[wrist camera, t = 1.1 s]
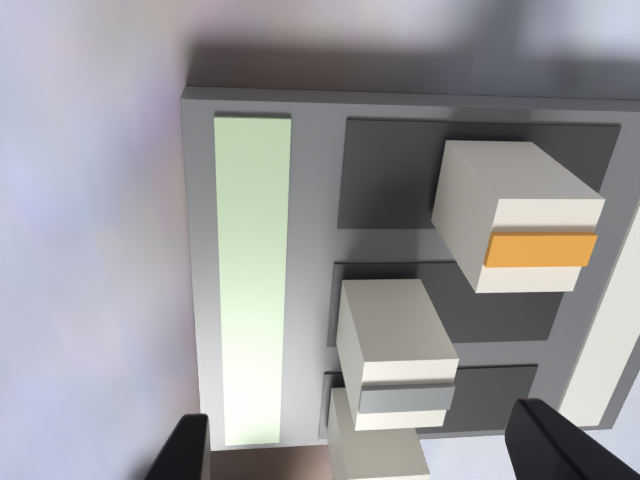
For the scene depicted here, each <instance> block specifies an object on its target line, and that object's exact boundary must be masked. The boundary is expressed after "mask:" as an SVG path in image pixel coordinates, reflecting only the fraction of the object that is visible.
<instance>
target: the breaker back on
mask: <svg viewBox="0 0 640 480" xmlns="http://www.w3.org/2000/svg"><path fill="white" fill-rule="evenodd" d="M327 442H328V449H329V455H330V461H331V468H332V474H333V480H429V478H430V472H429V469H428V466H427V463H426V460H425V457H424V454H423V451H422V448H421V445H420V442H419V439H418V436H417V433H416V430H415V428H397V429H378V430H359V431H355V428H354V424H353V419H352V414H351V410H350V405H349V400H348V396H347V391H346V388H332V389H331V399H330V409H329V419H328V429H327Z"/></svg>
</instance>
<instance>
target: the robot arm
mask: <svg viewBox="0 0 640 480" xmlns="http://www.w3.org/2000/svg"><path fill="white" fill-rule="evenodd" d="M505 442H506V446H507V449H508V453H509V456H510V459H511V463H512V466H513V469H514V472H515V476H516V479H517V480H640V474H638V473H637V472H636V471H634V470H633V469H632V468H631V467H629V466H628V465H627V464H625V463H624V462H623V461H621V460H620V459H619V458H617V457H616V456H615V455H614V454H612V453H611V452H610V451H608V450H607V449H606V448H604V447H603V446H602V445H601V444H599V443H598V442H597V441H595V440H594V439H593V438H591V437H590V436H589V435H587V434H586V433H585V432H584V431H582V430H581V429H580V428H578V427H577V426H576V425H574V424H573V423H572V422H570V421H569V420H568V419H567V418H565V417H564V416H563V415H561V414H560V413H559V412H557V411H556V410H555V409H554V408H552V407H551V406H550V405H548V404H547V403H546V402H544V401H543V400H541V399H539V398H519V399H517V400H516V401H515V402H514V404H513V407H512V410H511V413H510V416H509V419H508V422H507V425H506V428H505ZM210 466H211V444H210V427H209V417H208V415H207V414H205V413H200V414H186V415H184V416H182V418H181V419H180V420H179V422H178V424H177V425H176V427H175V428H174V430H173V432H172V433H171V435H170V436H169V438H168V440H167V441H166V443H165V444H164V446H163V447H162V449H161V451H160V452H159V454H158V455H157V457H156V459H155V460H154V462H153V463H152V465H151V467H150V468H149V470H148V471H147V473H146V475H145V476H144V478H143V479H142V480H210Z"/></svg>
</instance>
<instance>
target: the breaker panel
mask: <svg viewBox="0 0 640 480" xmlns="http://www.w3.org/2000/svg"><path fill="white" fill-rule="evenodd" d="M180 101H181V116H182V132H183V147H184V162H185V178H186V193H187V208H188V224H189V239H190V254H191V270H192V285H193V300H194V316H195V331H196V346H197V362H198V377H199V392H200V408H201V413H205V414H207V415H208V417H209V427H210V444H211V451H219V450H237V449H256V448H274V447H292V446H310V445H328V442H327V429H328V419H329V409H330V399H331V389H332V388H346V386H345V382H344V377H343V372H342V368H341V363H340V358H339V354H338V349H337V344H336V338H337V328H338V318H339V308H340V298H341V288H342V280H384V279H421V281H422V283H423V285H424V287H425V289H426V292H427V294H428V296H429V298H430V300H431V302H432V304H433V306H434V308H435V310H436V312H437V314H438V316H439V318H440V320H441V322H442V324H443V327H444V329H445V331H446V333H447V335H448V337H449V339H450V341H451V343H452V345H453V347H454V349H455V351H456V353H457V355H458V357H459V362H458V366H457V370H456V374H455V378H454V382H453V383H454V385H455V391H454V395H453V399H452V402H451V406H450V410H446V414H445V418H444V422H443V426H436V427H417V428H415V430H416V433H417V436H418V439H438V438H456V437H474V436H492V435H505V428H506V425H507V422H508V419H509V416H510V413H511V410H512V407H513V404H514V402H515V401H516V400H517V399H519V398H539V399H541V400H543V401H544V402H546V403H547V404H548V405H550V406H551V407H552V408H554V409H555V410H556V411H557V412H559V413H560V414H561V415H563V416H564V417H565V418H567V419H568V420H569V421H570V422H572V423H573V424H574V425H576V426H577V427H578V428H580V429H581V430H582V431H583V430H602V429H612V427H613V425H614V423H615V421H616V419H617V417H618V415H619V412H620V410H621V408H622V406H623V404H624V402H625V400H626V398H627V396H628V393H629V391H630V389H631V387H632V385H633V383H634V381H635V379H636V377H637V374H638V372H639V370H640V101H639V100H607V99H575V98H543V97H512V96H480V95H448V94H416V93H384V92H353V91H321V90H289V89H257V88H225V87H194V86H185V88H184V90H183V93H182V96H181V99H180ZM446 140H459V141H509V142H533V143H534V144H535V145H536V146H538V147H539V148H540V149H542V150H543V151H544V152H545V153H547V154H548V155H549V156H551V157H552V158H553V159H554V160H556V161H557V162H558V163H560V164H561V165H562V166H563V167H565V168H566V169H567V170H568V171H570V172H571V173H572V174H574V175H575V176H576V177H577V178H579V179H580V180H581V181H583V182H584V183H585V184H586V185H588V186H589V187H590V188H592V189H593V190H594V191H595V192H597V193H598V194H599V195H601V196H602V197H603V198H604V199H606V200H605V202H604V205H603V208H602V211H601V214H600V216H599V219H598V222H597V225H596V228H595V230H594V233H596V234H597V235H598V237H597V240H596V242H595V245H594V248H593V251H592V253H591V256H590V259H589V262H588V264H587V266H582V267H581V270H580V272H579V275H578V278H577V281H576V284H575V286H574V289H573V291H559V292H505V293H475V291H474V290H473V288H472V286H471V285H470V283H469V281H468V280H467V278H466V277H465V275H464V273H463V272H462V270H461V268H460V267H459V265H458V264H457V262H456V260H455V259H454V257H453V255H452V254H451V252H450V251H449V249H448V247H447V246H446V244H445V242H444V241H443V239H442V238H441V236H440V234H439V233H438V231H437V229H436V228H435V226H434V225H433V223H432V221H431V219H432V213H433V208H434V203H435V197H436V192H437V186H438V181H439V176H440V170H441V165H442V159H443V154H444V149H445V143H446Z"/></svg>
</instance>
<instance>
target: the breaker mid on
mask: <svg viewBox="0 0 640 480" xmlns="http://www.w3.org/2000/svg"><path fill="white" fill-rule="evenodd" d="M336 344H337V349H338V354H339V358H340V363H341V368H342V372H343V377H344V382H345V386H346V391H347V396H348V400H349V405H350V410H351V414H352V419H353V424H354V428H355V431H359V430H378V429H397V428H417V427H436V426H443V422H444V418H445V414H446V410H450V406H451V402H452V399H453V395H454V391H455V385H454V383H453V382H454V378H455V374H456V370H457V366H458V362H459V357H458V355H457V353H456V351H455V349H454V347H453V345H452V343H451V341H450V339H449V337H448V335H447V333H446V331H445V329H444V327H443V324H442V322H441V320H440V318H439V316H438V314H437V312H436V310H435V308H434V306H433V304H432V302H431V300H430V298H429V296H428V294H427V292H426V289H425V287H424V285H423V283H422V281H421V279H384V280H342V288H341V298H340V308H339V318H338V328H337V338H336Z"/></svg>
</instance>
